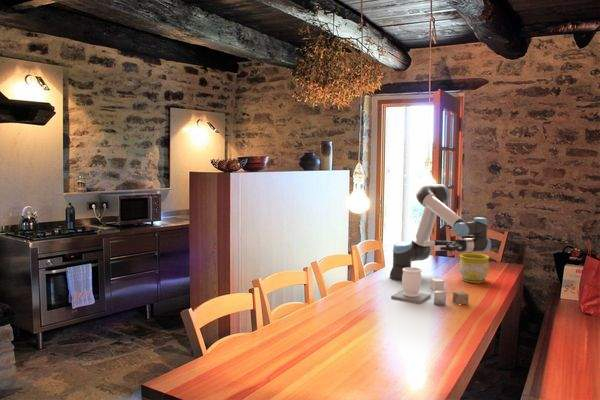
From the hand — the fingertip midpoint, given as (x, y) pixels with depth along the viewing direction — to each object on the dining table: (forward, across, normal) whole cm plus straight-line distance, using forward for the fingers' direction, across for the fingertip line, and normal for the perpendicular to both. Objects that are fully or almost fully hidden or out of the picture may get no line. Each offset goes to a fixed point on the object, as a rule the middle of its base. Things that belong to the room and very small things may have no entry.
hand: (429, 245), depth 284 cm
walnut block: (-13, -14, -30) cm, 35 cm away
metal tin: (-1, -14, -30) cm, 33 cm away
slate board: (+10, 0, -30) cm, 31 cm away
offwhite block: (-13, +14, -30) cm, 35 cm away
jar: (+10, 0, -28) cm, 30 cm away
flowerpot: (-46, +30, -30) cm, 62 cm away
